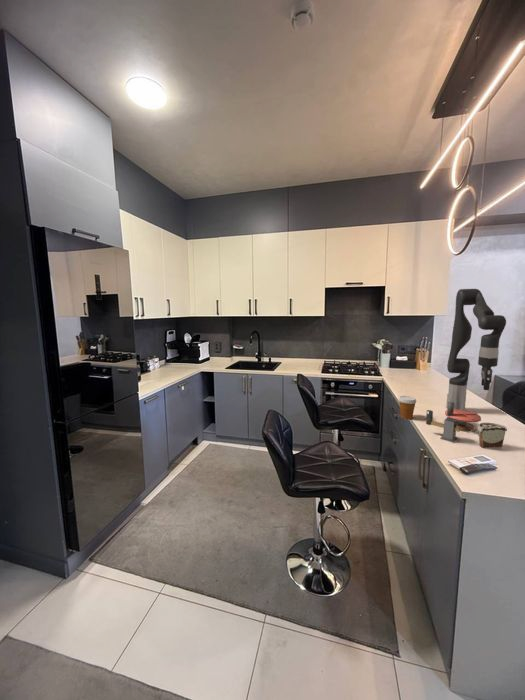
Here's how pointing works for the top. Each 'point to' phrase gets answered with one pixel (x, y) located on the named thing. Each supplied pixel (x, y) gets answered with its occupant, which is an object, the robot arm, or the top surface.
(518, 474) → the top surface
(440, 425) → the hook
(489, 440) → the food container
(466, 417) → the handwheel
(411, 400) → the disposable coffee cup
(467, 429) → the pedestal
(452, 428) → the eye block
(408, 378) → the top surface
